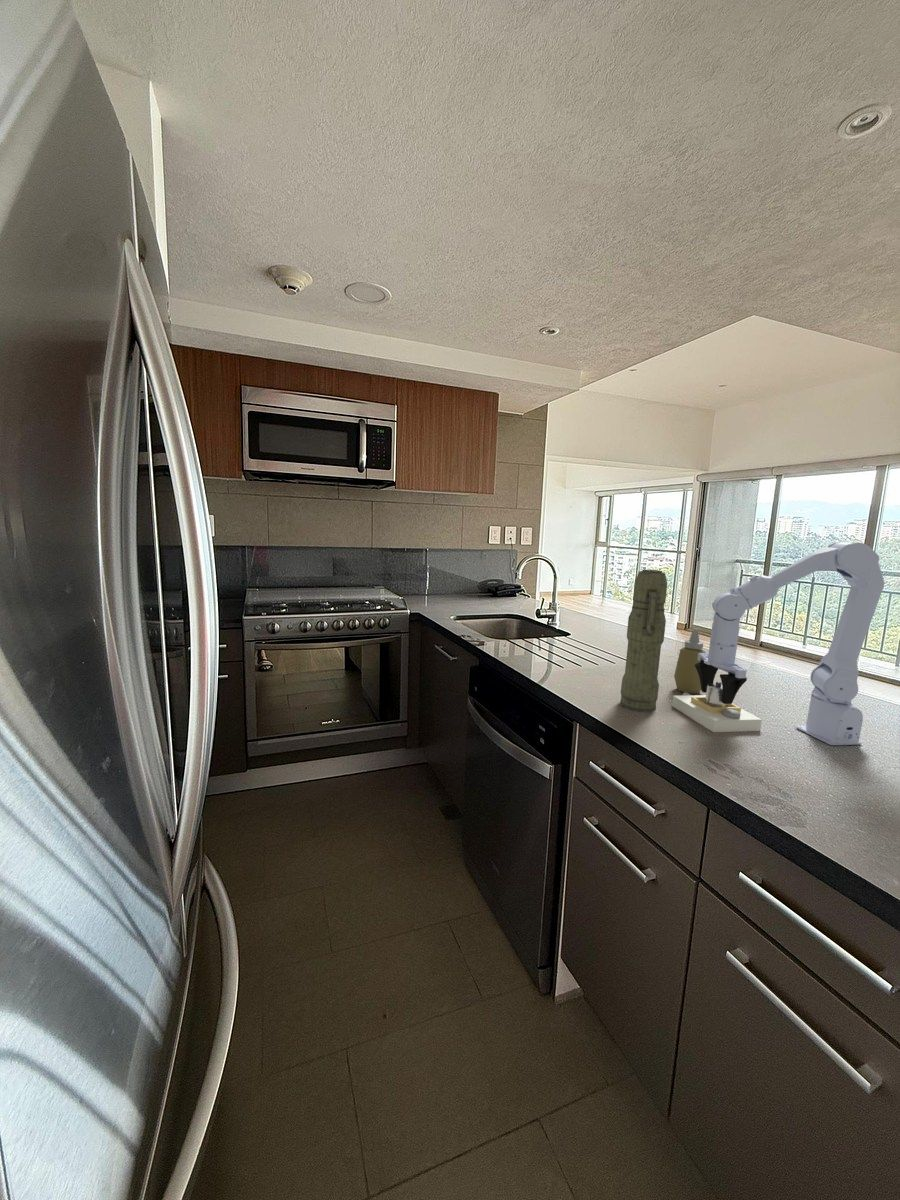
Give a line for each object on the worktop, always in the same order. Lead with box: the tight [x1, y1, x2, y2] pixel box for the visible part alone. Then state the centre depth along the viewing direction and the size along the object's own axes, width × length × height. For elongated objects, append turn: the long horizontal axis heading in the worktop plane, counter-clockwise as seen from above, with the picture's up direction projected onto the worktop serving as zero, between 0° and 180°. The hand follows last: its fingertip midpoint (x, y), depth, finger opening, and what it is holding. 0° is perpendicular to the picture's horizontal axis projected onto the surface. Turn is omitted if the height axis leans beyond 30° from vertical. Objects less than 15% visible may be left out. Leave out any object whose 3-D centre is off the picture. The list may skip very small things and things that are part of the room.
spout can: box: [705, 681, 727, 707], centre depth 120 cm, size 5×5×9 cm
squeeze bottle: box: [673, 628, 707, 695], centre depth 139 cm, size 8×8×18 cm
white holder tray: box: [671, 692, 763, 733], centre depth 122 cm, size 20×12×4 cm, turn 8°
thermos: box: [620, 569, 668, 713], centre depth 125 cm, size 9×12×35 cm
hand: (716, 697), depth 120 cm, fingers open, 7 cm apart
